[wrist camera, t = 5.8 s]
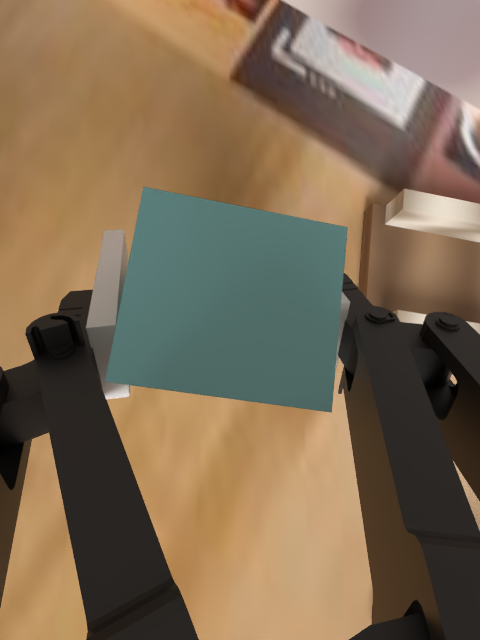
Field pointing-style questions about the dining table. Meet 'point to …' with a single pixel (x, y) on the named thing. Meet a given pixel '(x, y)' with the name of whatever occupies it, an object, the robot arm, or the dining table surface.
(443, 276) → the display stand
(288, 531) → the dining table surface
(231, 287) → the teal upright prism
